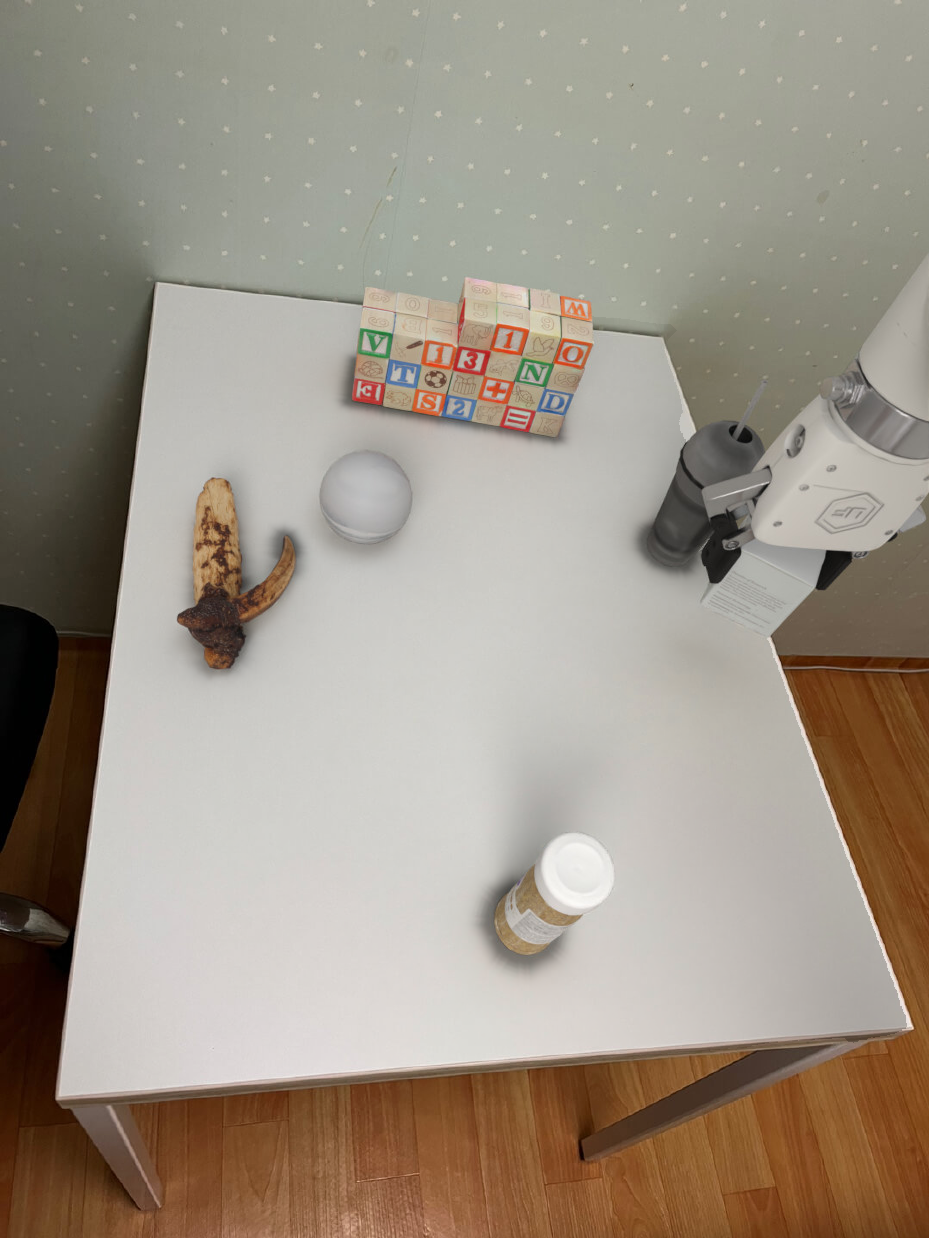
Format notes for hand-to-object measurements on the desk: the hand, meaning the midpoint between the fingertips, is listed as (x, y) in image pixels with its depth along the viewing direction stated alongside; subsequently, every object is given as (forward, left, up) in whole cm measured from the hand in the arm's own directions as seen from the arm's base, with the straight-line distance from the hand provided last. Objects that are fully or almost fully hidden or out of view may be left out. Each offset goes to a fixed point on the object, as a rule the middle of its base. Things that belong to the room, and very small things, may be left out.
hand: (762, 571), depth 66 cm
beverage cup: (+11, -5, -13) cm, 18 cm away
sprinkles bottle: (-13, +26, -13) cm, 32 cm away
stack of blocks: (+35, +6, -13) cm, 38 cm away
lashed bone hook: (+21, +34, -13) cm, 42 cm away
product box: (0, 0, -4) cm, 4 cm away
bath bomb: (+23, +22, -13) cm, 34 cm away
